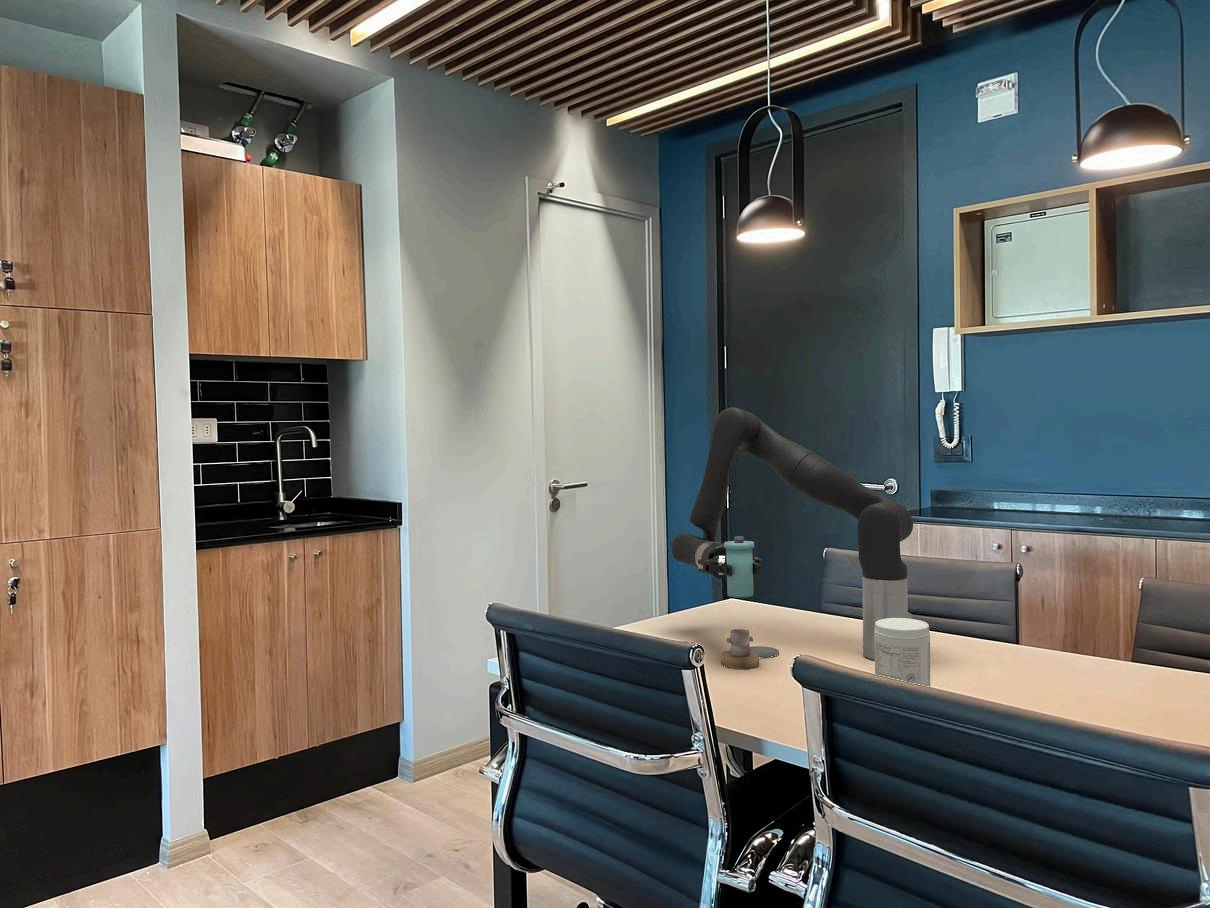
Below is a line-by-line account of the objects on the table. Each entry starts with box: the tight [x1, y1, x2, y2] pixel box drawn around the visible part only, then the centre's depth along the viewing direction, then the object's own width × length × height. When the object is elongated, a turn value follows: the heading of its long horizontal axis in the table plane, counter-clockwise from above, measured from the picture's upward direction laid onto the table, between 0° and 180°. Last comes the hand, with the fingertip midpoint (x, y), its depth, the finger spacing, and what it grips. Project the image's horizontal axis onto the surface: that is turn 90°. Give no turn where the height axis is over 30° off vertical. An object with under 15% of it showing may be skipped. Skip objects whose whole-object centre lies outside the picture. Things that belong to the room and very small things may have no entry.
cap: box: [723, 535, 755, 598], centre depth 190 cm, size 6×6×12 cm
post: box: [720, 628, 760, 670], centre depth 191 cm, size 8×8×7 cm
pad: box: [750, 645, 780, 657], centre depth 199 cm, size 8×8×1 cm
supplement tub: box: [874, 618, 931, 688], centre depth 162 cm, size 10×10×15 cm
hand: (744, 570), depth 187 cm, fingers closed on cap, 5 cm apart
